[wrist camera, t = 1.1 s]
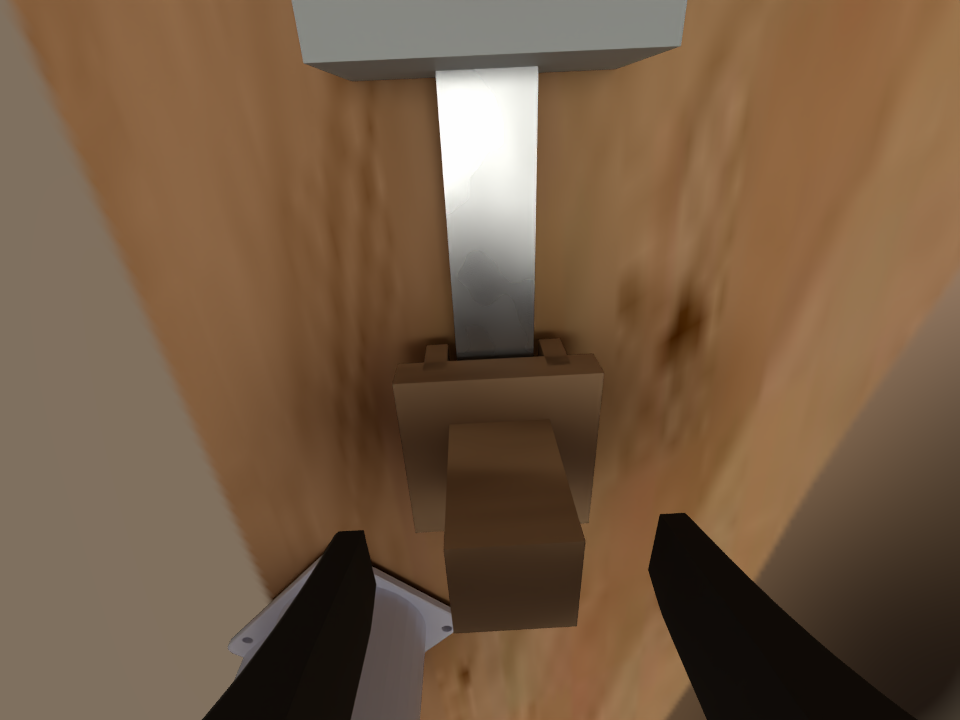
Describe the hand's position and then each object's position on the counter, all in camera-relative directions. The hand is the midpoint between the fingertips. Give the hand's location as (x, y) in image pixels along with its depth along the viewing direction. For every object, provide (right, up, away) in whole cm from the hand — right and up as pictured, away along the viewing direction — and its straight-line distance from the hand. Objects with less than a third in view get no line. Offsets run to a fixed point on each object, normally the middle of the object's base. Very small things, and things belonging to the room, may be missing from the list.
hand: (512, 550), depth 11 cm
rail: (0, +6, +4) cm, 7 cm away
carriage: (0, +3, +6) cm, 7 cm away
